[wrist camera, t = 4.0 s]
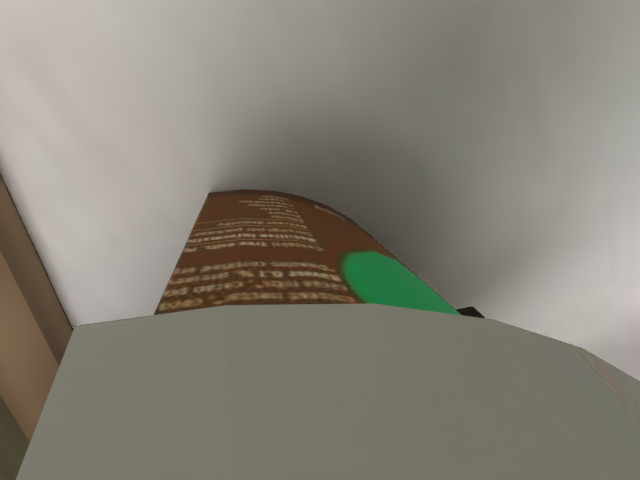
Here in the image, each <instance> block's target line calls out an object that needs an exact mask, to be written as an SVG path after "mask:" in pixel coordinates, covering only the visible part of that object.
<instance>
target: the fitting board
mask: <svg viewBox="0 0 640 480" xmlns="http://www.w3.org/2000/svg"><path fill="white" fill-rule="evenodd" d="M72 332H73V330H72V328H71V326H70V324H69V322H68V320H67V317H66V315H65V313H64V311H63V309H62V307H61V305H60V302H59V300H58V298H57V296H56V294H55V292H54V290H53V287H52V285H51V283H50V281H49V279H48V277H47V275H46V272H45V270H44V268H43V266H42V264H41V262H40V259H39V257H38V255H37V253H36V251H35V249H34V247H33V244H32V242H31V240H30V238H29V236H28V234H27V232H26V229H25V227H24V225H23V223H22V221H21V219H20V217H19V214H18V212H17V210H16V208H15V206H14V204H13V202H12V199H11V197H10V195H9V193H8V191H7V189H6V187H5V184H4V182H3V180H2V178H1V176H0V480H16V478H17V475H18V472H19V470H20V467H21V465H22V462H23V459H24V457H25V454H26V452H27V449H28V446H29V444H30V441H31V439H32V436H33V434H34V431H35V428H36V426H37V423H38V421H39V418H40V415H41V413H42V410H43V408H44V405H45V402H46V400H47V397H48V395H49V392H50V389H51V387H52V384H53V382H54V379H55V376H56V374H57V371H58V369H59V366H60V364H61V361H62V358H63V356H64V353H65V351H66V348H67V345H68V343H69V340H70V338H71V335H72Z"/></svg>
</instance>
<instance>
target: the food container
mask: <svg viewBox="0 0 640 480" xmlns="http://www.w3.org/2000/svg"><path fill="white" fill-rule="evenodd" d="M16 480H640V381H638V380H636V379H635V378H633V377H631V376H630V375H628V374H626V373H624V372H623V371H621V370H619V369H617V368H616V367H614V366H612V365H611V364H609V363H607V362H605V361H604V360H602V359H600V358H598V357H597V356H595V355H593V354H592V353H590V352H588V351H586V350H585V349H583V348H580V347H577V346H574V345H571V344H568V343H565V342H561V341H558V340H555V339H552V338H549V337H546V336H543V335H539V334H536V333H533V332H530V331H527V330H524V329H521V328H518V327H514V326H511V325H508V324H505V323H502V322H499V321H496V320H492V319H485V318H478V317H470V316H463V315H461V314H460V313H459V312H458V311H456V310H455V309H454V308H453V307H452V306H451V305H450V304H448V303H447V302H446V301H445V300H444V299H443V298H441V297H440V296H439V295H438V294H437V293H436V292H435V291H433V290H432V289H431V288H430V287H429V286H428V285H427V284H425V283H424V282H423V281H422V280H421V279H420V278H419V277H417V276H416V275H415V274H414V273H413V272H412V271H410V270H409V269H408V268H407V267H406V266H405V265H404V264H402V263H401V262H400V261H399V260H398V259H397V258H396V257H394V256H393V255H392V254H391V253H390V252H389V251H388V250H386V249H385V248H384V247H383V246H382V245H381V244H379V243H378V242H377V241H376V240H375V239H374V238H373V237H371V236H370V235H369V234H368V233H367V232H366V231H364V230H363V229H362V228H361V227H359V226H358V225H357V224H356V223H354V222H353V221H352V220H351V219H349V218H348V217H346V216H344V215H342V214H341V213H339V212H337V211H335V210H333V209H332V208H330V207H328V206H326V205H323V204H321V203H318V202H315V201H312V200H309V199H307V198H304V197H301V196H296V195H291V194H286V193H281V192H275V191H263V190H234V191H224V192H215V193H209V194H208V196H207V198H206V201H205V203H204V205H203V207H202V209H201V212H200V214H199V216H198V218H197V220H196V223H195V225H194V227H193V229H192V232H191V234H190V236H189V238H188V240H187V243H186V245H185V247H184V249H183V251H182V254H181V256H180V258H179V260H178V262H177V265H176V267H175V269H174V271H173V274H172V276H171V278H170V280H169V282H168V285H167V287H166V289H165V291H164V293H163V296H162V298H161V300H160V302H159V304H158V307H157V309H156V311H155V313H154V315H152V316H145V317H137V318H130V319H123V320H116V321H109V322H101V323H94V324H87V325H80V326H75V327H74V330H73V332H72V335H71V338H70V340H69V343H68V345H67V348H66V351H65V353H64V356H63V358H62V361H61V364H60V366H59V369H58V371H57V374H56V376H55V379H54V382H53V384H52V387H51V389H50V392H49V395H48V397H47V400H46V402H45V405H44V408H43V410H42V413H41V415H40V418H39V421H38V423H37V426H36V428H35V431H34V434H33V436H32V439H31V441H30V444H29V446H28V449H27V452H26V454H25V457H24V459H23V462H22V465H21V467H20V470H19V472H18V475H17V478H16Z"/></svg>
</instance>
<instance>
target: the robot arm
mask: <svg viewBox="0 0 640 480" xmlns="http://www.w3.org/2000/svg"><path fill="white" fill-rule="evenodd" d="M456 311H458V312H459V313H460V314H461V315H463V316H470V317H478V318H485V317H484V316H482V315H481V314H480V313H479V312H478V311H477V310H476V309H475V308H474V307H466V308H462V309H458V310H456ZM485 319H486V318H485Z"/></svg>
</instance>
